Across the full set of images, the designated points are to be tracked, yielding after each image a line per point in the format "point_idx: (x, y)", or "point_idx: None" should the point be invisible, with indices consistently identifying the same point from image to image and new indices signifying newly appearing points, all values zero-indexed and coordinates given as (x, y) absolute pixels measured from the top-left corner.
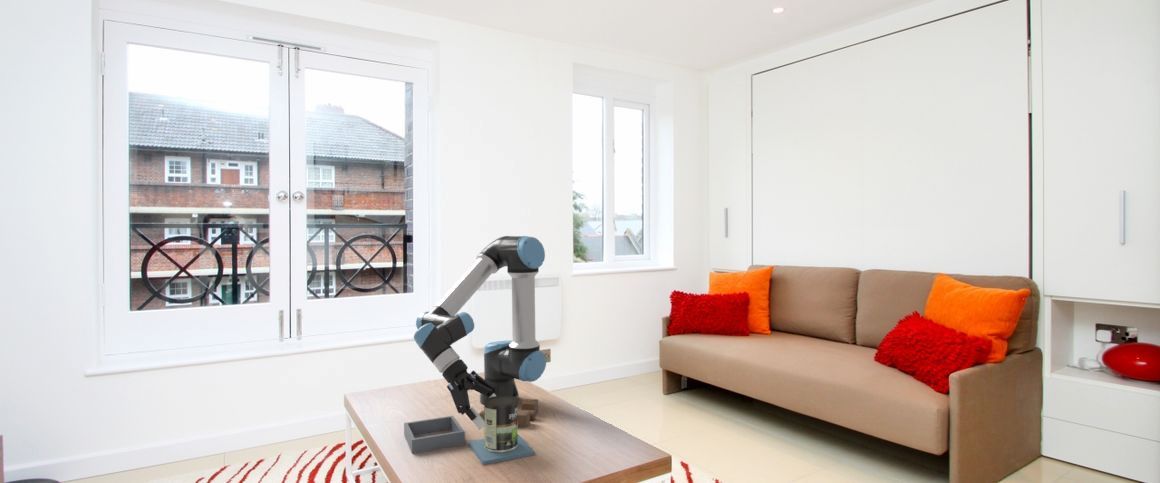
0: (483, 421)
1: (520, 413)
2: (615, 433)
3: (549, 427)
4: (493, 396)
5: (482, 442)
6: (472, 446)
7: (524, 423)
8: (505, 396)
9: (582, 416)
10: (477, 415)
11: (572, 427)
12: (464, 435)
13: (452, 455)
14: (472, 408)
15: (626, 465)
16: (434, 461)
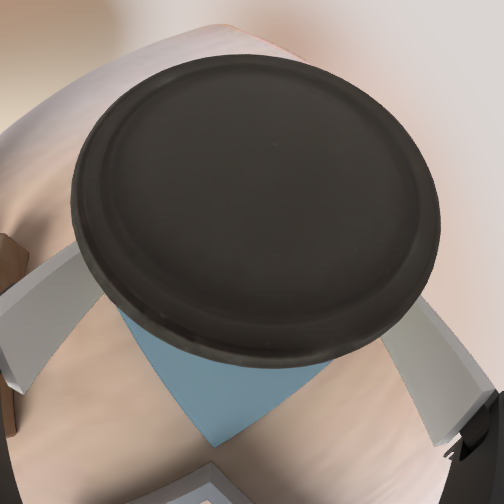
0: (420, 299)
1: None
2: (113, 64)
3: (41, 183)
4: (12, 324)
5: (212, 385)
6: (265, 412)
7: (20, 253)
8: (101, 147)
9: (4, 137)
10: (452, 336)
11: (56, 132)
12: (210, 475)
13: (329, 455)
14: (488, 378)
15: (268, 45)
16: (381, 477)
